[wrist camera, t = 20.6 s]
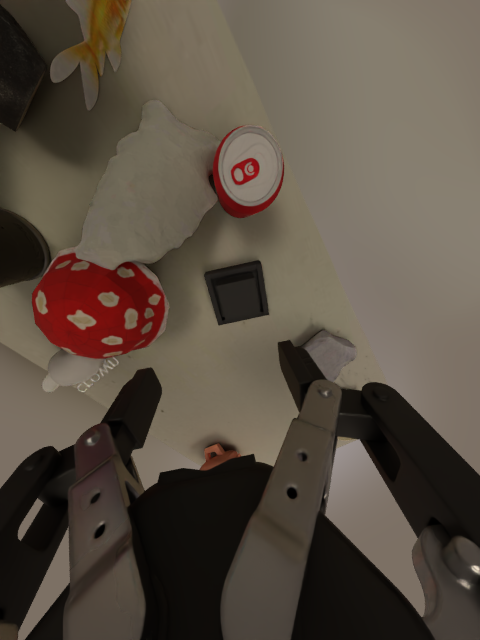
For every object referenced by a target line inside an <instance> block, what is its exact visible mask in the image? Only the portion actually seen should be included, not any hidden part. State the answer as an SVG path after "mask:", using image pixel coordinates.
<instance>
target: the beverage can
mask: <svg viewBox="0 0 480 640" xmlns="http://www.w3.org/2000/svg"><path fill="white" fill-rule="evenodd" d="M283 176H284V162H283V156H282V153H281V150H280V147H279V145H278V143H277V141H276V139H275V138H274V137H273V135H272V134H271V133H269V132H268V131H267V130H266V129H264V128H262V127H259V126H256V125H246V126H241V127H238V128H236V129H234V130H232V131H231V132H230V133H228V134H227V135H226V136H225V137H224V139H223V140H222V141H221V143H220V145H219V146H218V148H217V151H216V154H215V157H214V162H213V178H214V183H215V187H216V191H217V195H218V198H219V201H220V204H221V206H222V207H223V209H224V210H225V211H226V212H227V213H228V214H230V215H231V216H234V217H237V218H245V217H248V216H251V215H253V214H256V213H258V212H260V211H262V210H264V209H266V208H267V207H268V206H269V205H270V204H271V203H272V202H273V201H274V200H275V198H276V197H277V195H278V193H279V191H280V188H281V186H282V182H283Z"/></svg>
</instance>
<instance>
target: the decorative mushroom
mask: <svg viewBox="0 0 480 640" xmlns="http://www.w3.org/2000/svg"><path fill="white" fill-rule="evenodd" d="M77 248H78V246H76V247H72V248H68V249H64V250H60V251H59V252H58V253H57V255H56V256H55V258H54V259H53V261H52V262H51V264H50V265H49V267H48V268H47V270H46V271H45V273H44V274H43V278H42V280H41V281H40V283H39V284H38V286H37V287H36V289H35V290H34V291H33V293H32V306H33V312H34V319H35V324H36V325H37V326H38V327H39V329H40V330H41V331H42V332H43V334H44V335H45V336H46V337H47V339H48V340H49V341H50V342H51V343H53V344H55V345H56V346H58V347H60V348H62V349H63V350H65V351H67V352H69V353H70V354H72V355H77V356H83V357H88V358H94V359H105V358H109V357H114V356H118V355H122V354H126V353H128V352H130V351H132V350H136V349H141V348H145V347H149V346H150V345H151V344H152V343H153V342H154V341H155V340H156V339H157V338H158V337H159V336H160V335H161V334H162V333H163V332H164V331H165V328H166V322H167V316H168V310H169V303H168V301H167V298H166V296H165V294H164V291H163V289H162V287H161V284H160V282H159V280H158V277H157V276H156V275H155V274H154V273H153V272H152V271H151V270H149V269H148V268H147V267H146V266H145V265H143V264H142V263H140V262H138V261H128V262H124V263H121V264H120V265H119V266H118V267H117V268H116V269H115V270H110V269H107V268H103V267H101V266H98V265H96V264H94V263H92V262H89V261H85V260H81V259H78V258H77V257H76V250H77Z"/></svg>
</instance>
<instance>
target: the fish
mask: <svg viewBox="0 0 480 640" xmlns="http://www.w3.org/2000/svg"><path fill="white" fill-rule="evenodd" d="M65 1H66V3H67V4H68V5H69V6H70V8H71V9H72V10H73V11H75V12H76V13H77V14H78V16H79V20H80V26H81V30H82V34H83V37H84V41H83V42H81V43H79V44H77V45H75V46H72V47H70V48H68V49H66V50H64V51H62V52H60V53H59V54H58V55H57V56H56V57H55V58H54V60H53V61H52V64H51V68H50V77H51V80H52V82H54V83H59V82H61V81H63V80H64V79H66V78H67V77H68V76H69V75H70V74H71V73H72V72H73V71H74V70H75V69H76V67H77V66H78V64H79V61H80V68H81V76H82V83H83V90H84V96H85V102H86V106H87V109H88V111H90V110H91V109H92V108H93V107H94V105H95V103H96V101H97V97H98V91H99V81H98V73H97V69H98V71H99V74H100V77H101V76H102V74H103V71H104V64H105V50H106V53H107V56H108V58H109V61H110V63H111V65H112V67H113V69H114V72H116V71H117V69H118V67H119V65H120V61H121V46H120V38H121V34H122V31H123V28H124V25H125V22H126V19H127V16H128V13H129V9H130V5H131V0H65ZM95 63H96V64H95ZM96 66H97V68H96Z"/></svg>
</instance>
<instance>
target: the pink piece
mask: <svg viewBox="0 0 480 640" xmlns="http://www.w3.org/2000/svg"><path fill="white" fill-rule="evenodd" d="M204 451H205V459H206V462H205V463H204V464H203V465H202V467H201V468H200V470H205V471H206V470H209V469H211V468H213V467H215V466H217V465H219V464H221V463H223V462H225V461H227V460H229V459H231V458H236V457H241V455H240V453H239V454H237V452H236V451H233V450H230V451H226V452H225V451H224V450H223V448H222V447H221V446H220V444H219V443H218V444H215V445H213V446H210V447H208V448H206V449H204ZM211 452H216V454H217V455H216V456H214V457H213V458H211V454H210V453H211Z"/></svg>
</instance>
